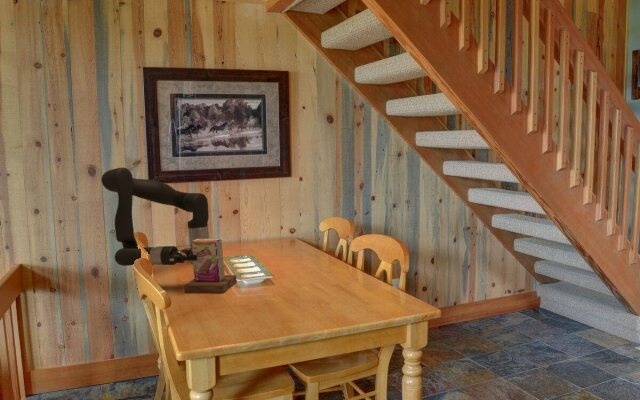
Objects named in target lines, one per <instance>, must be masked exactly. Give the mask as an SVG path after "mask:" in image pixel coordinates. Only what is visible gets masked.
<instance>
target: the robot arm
mask: <svg viewBox="0 0 640 400" xmlns="http://www.w3.org/2000/svg"><path fill="white" fill-rule="evenodd" d="M101 184H102V186H103V187H104V188H105V189H106V190H108V191H109V192H113V193H117V196H118V197H117V198H118V200H117V208H116V212H115V216H114V229H115V231H114V232H115V233H114V234H115V238H116V240H117V242H118V243H121V245H122V248H120V249H118V250H117V251H116V252H115V254H114V261H115V262H116V263H117V264H118V265H120V266H122V267H123V266H125V267H128V266H134V265H133V264H134V261H135V260H136V259H139V258H141V249H140V248H139V249H138V247H139V245H138V242H137V240H136V237H135V232H134V231H135V230H134V222H133V197H136V198H139V199H144V200H147V201H149V202H153V203H157V204H160V205H165V206H171V207H172V206H173V207H175V208H177V209H180V210H182V211H185V212H187V213H191V214H192V219H190V220H188V221H187V233H188V240H189V248H188V247H187V248H186V247H185V248H183V249H180V250H179V249H178V246H177V247H176V246H175V245H168V246H167V245H163V246H161V245H158V246H151V247H150V246H148V247H145V246H144V247H143V248H144V249H145V250H146V251H147V252H148V254H149V255H150V258H151V260H152V263H153V265H154V266H155V265H156V266H175V265H177V264H185V262H191V264H192V265H193V261H196V260H197V255H192V246H191V241H193V240H195V239H210V236H209V235H210V234H209V224H208V223H209V214H210V213H209V202H208V198H207V196H206V195H205V194H203V193H199V192H184V191H179V190H176V189H174V187H172V186H171V185H170V184H167V183H164V182H161V181H158V180H154V179H147V178H134V177H133V174H132V172H131V171H130V169H128V168H126V167H123V166H122V167H117V168H112V169H109V170H107V171H105V172H104V173H103V174H102V175H101ZM137 246H138V247H137Z"/></svg>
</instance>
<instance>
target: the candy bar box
mask: <svg viewBox="0 0 640 400" xmlns="http://www.w3.org/2000/svg"><path fill="white" fill-rule="evenodd" d="M222 243H223V241H222V238H209V239H195V240H193V241H191V246H192V255H197V260H196V261H193V264H192V266H193V274H194V279H195V281H203V282H221V281H222V280H224V279H225V274H226V273H225V265H224V254H223V244H222Z"/></svg>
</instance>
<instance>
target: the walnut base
mask: <svg viewBox="0 0 640 400" xmlns="http://www.w3.org/2000/svg"><path fill="white" fill-rule="evenodd" d="M235 284H237V275H236V274H234V275H232V274H231V275H229V274H227V275H225V279H224V280H222V281H221V282H203V281H195V278H193V279H191V280H190V281H189V282H187V283H185V284H184V285H183V292H184V294H224V293H225V292H227V291H228V290H229V289H231V288H232V287H233V286H234V285H235Z"/></svg>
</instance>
